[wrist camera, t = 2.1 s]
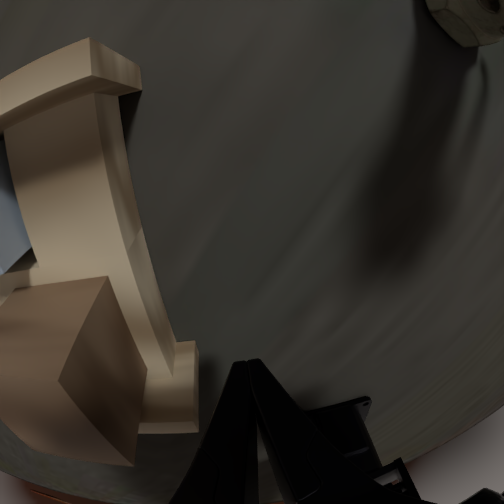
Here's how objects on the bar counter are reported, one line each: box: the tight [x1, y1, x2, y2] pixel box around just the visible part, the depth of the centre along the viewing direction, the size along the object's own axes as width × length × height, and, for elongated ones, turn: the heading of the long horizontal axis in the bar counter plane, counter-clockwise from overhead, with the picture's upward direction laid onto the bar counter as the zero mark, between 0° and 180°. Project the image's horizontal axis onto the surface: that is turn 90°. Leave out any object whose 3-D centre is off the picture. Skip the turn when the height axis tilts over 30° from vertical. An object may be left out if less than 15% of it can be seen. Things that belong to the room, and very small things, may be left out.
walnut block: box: [0, 276, 148, 467], centre depth 9 cm, size 5×5×5 cm
